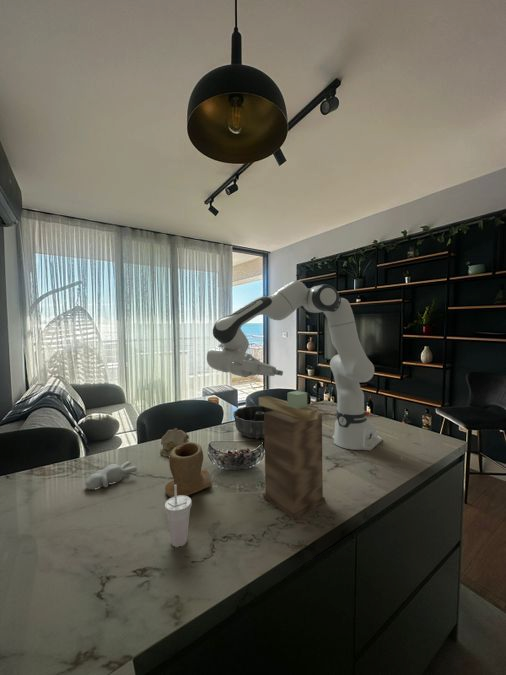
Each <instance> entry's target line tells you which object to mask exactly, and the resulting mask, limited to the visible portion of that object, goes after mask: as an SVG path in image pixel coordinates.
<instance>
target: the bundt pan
mask: <svg viewBox="0 0 506 675" xmlns="http://www.w3.org/2000/svg"><path fill="white" fill-rule="evenodd" d="M269 411H273V409H270V408H267V407H264V406H261V405H250V406H244V407H240V408H237V409H235V410H234V411H233V413H232V414H233V419H234V424H235V428H236V431H237V432H238V433H239V434H241V436H244V437H247V438H250V439H252V438H255V439H256V440H258V439H265V436H264V413H265V412H269Z"/></svg>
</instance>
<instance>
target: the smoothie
mask: <svg viewBox="0 0 506 675" xmlns="http://www.w3.org/2000/svg"><path fill="white" fill-rule="evenodd" d="M174 495H175V497H170V498H168V499H167V500H166V501H165V503H164V512H166V517H167V518H166V520H167V524H168V531H169V535H170V542H171V545H172V547H174V546H175V548H180V547H179V546H181V547H184V545H186V543H188V536H189V535H188V534H189V523H190V515H191V514H190V513H191V508H192V505H193V504H192V498H191V497H189V495H188V496H184V495H179V496H177V485H174Z"/></svg>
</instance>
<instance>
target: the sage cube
mask: <svg viewBox="0 0 506 675" xmlns="http://www.w3.org/2000/svg"><path fill="white" fill-rule="evenodd" d="M286 397H287V398H286V399H287V400H286V401H288V407H292V408H295V409H300V408H304V407H308V392H305V391H300V390H293V391H290V392H287V396H286Z"/></svg>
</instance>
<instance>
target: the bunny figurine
mask: <svg viewBox="0 0 506 675" xmlns="http://www.w3.org/2000/svg"><path fill="white" fill-rule="evenodd" d="M131 463H132V462H131V461H130V460H127V461H125V462H124V463H122V464H116V463H112V464H108V465H107V466H105V467H104V468H103V469H98V470H97V471H95V472H93V473H92V474H90V475H89V476H88V478H87V479H86V480H84V481H85V487H86V488H87V489H88V490H93V489H95V488H98V487H100V486H102V487H104V488H108V487H109V485H110V484H109V483H113V482H117V481H119V482H120V481H122V479H123V477H124V475H125V474H130V473H135V472H137V470H138V469H137V466H136V465H133V466H130V465H131ZM128 466H130V467H128ZM117 483H118V482H117Z"/></svg>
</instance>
